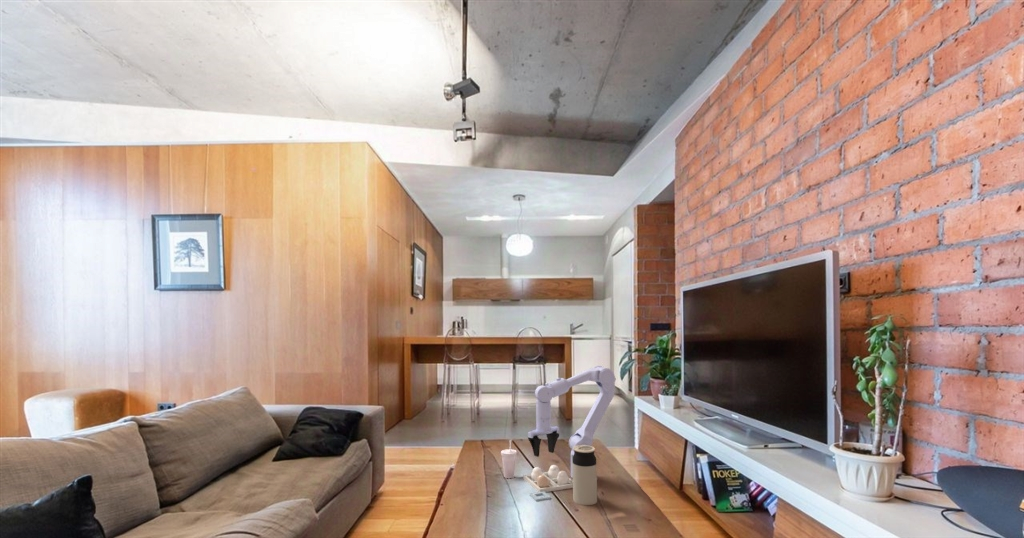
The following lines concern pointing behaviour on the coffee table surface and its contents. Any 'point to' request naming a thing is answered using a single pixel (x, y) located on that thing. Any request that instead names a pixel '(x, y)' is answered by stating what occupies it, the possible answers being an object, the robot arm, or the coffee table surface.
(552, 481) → the carton
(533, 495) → the egg cup
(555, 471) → the white eggs
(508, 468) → the smoothie
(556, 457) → the coffee table surface
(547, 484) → the brown egg
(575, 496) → the travel mug
